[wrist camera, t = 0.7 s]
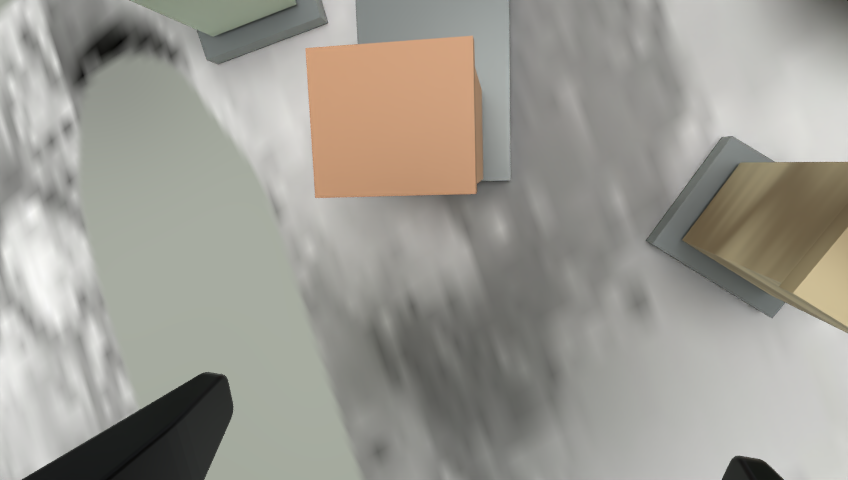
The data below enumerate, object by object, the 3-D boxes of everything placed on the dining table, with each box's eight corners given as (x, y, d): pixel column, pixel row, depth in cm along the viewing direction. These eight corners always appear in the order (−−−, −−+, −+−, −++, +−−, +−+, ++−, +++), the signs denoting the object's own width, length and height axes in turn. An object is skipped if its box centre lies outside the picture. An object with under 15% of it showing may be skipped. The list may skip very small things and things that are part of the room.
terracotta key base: (510, 179, 24) (510, 180, 23) (370, 183, 25) (364, 184, 24) (508, -18, 23) (508, -26, 22) (361, -5, 24) (354, -12, 23)
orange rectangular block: (486, 182, 23) (475, 193, 14) (385, 185, 24) (315, 197, 15) (485, 86, 22) (472, 35, 14) (381, 92, 23) (305, 48, 14)
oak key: (771, 299, 22) (954, 392, 13) (676, 241, 22) (792, 293, 13) (839, 217, 21) (1085, 257, 12) (739, 157, 21) (909, 153, 12)
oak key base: (761, 311, 23) (772, 318, 22) (646, 240, 24) (652, 243, 23) (844, 210, 22) (859, 212, 21) (722, 137, 22) (732, 135, 21)
